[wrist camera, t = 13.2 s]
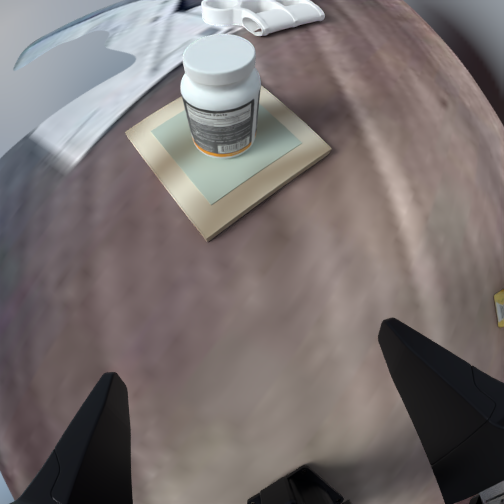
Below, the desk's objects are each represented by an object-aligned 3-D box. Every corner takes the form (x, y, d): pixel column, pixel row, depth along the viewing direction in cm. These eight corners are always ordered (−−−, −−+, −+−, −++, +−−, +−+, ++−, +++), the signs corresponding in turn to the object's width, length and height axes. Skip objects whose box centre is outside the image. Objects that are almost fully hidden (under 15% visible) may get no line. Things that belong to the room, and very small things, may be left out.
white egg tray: (241, 49, 30) (187, 13, 32) (336, 22, 33) (276, -11, 35) (242, 29, 27) (185, -4, 29) (341, 7, 30) (278, -25, 32)
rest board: (328, 154, 26) (332, 147, 25) (207, 242, 23) (205, 238, 22) (238, 73, 28) (238, 66, 27) (128, 137, 26) (124, 131, 25)
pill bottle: (206, 108, 25) (196, 26, 16) (263, 120, 25) (273, 37, 16) (182, 153, 24) (158, 72, 14) (245, 169, 24) (248, 85, 14)
